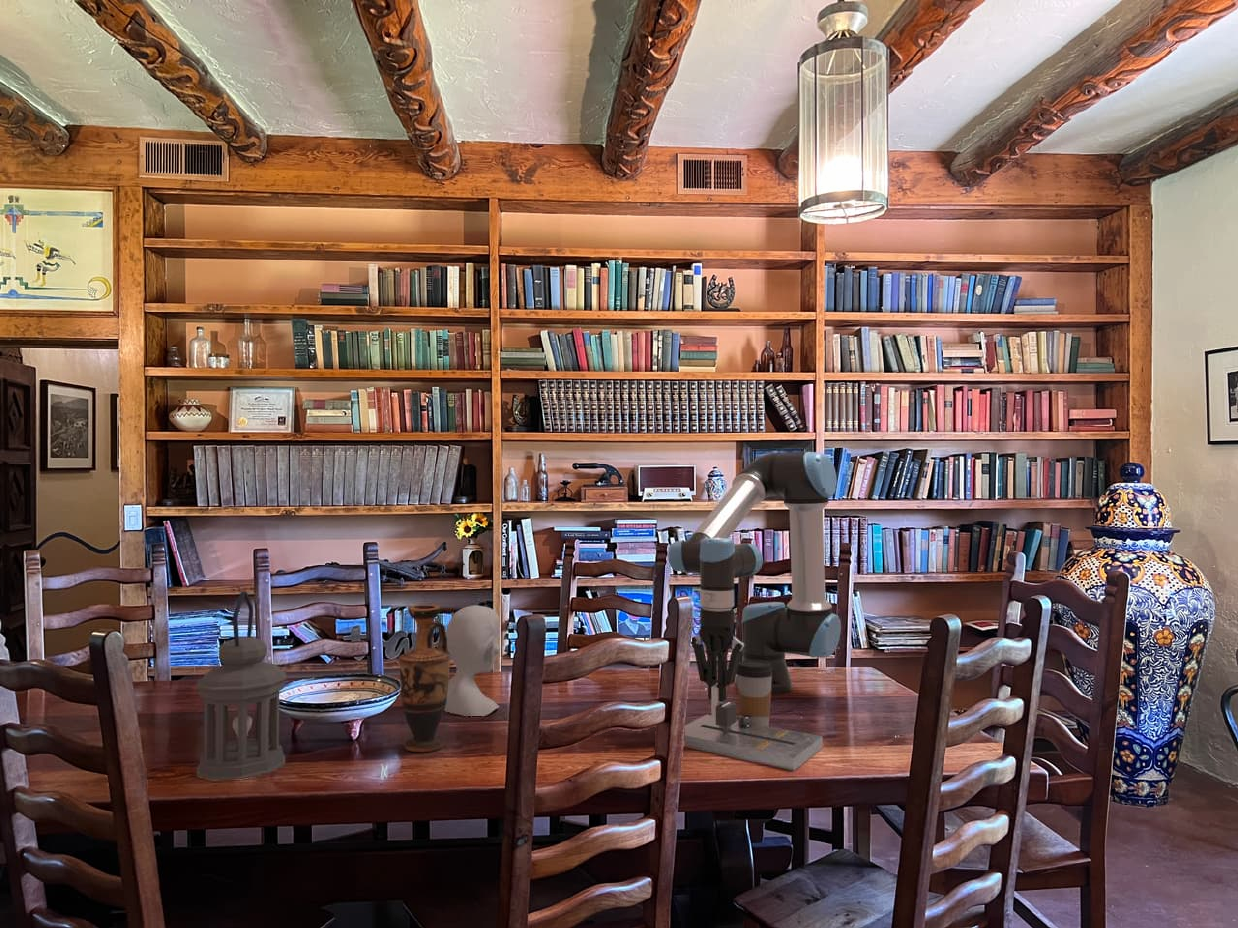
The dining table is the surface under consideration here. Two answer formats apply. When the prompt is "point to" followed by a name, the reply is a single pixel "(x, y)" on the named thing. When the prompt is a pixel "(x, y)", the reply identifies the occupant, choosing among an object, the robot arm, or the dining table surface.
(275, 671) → the lantern
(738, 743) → the console
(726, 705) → the fader
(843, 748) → the dining table surface
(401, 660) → the vase
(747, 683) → the coffee cup
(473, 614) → the head bust
